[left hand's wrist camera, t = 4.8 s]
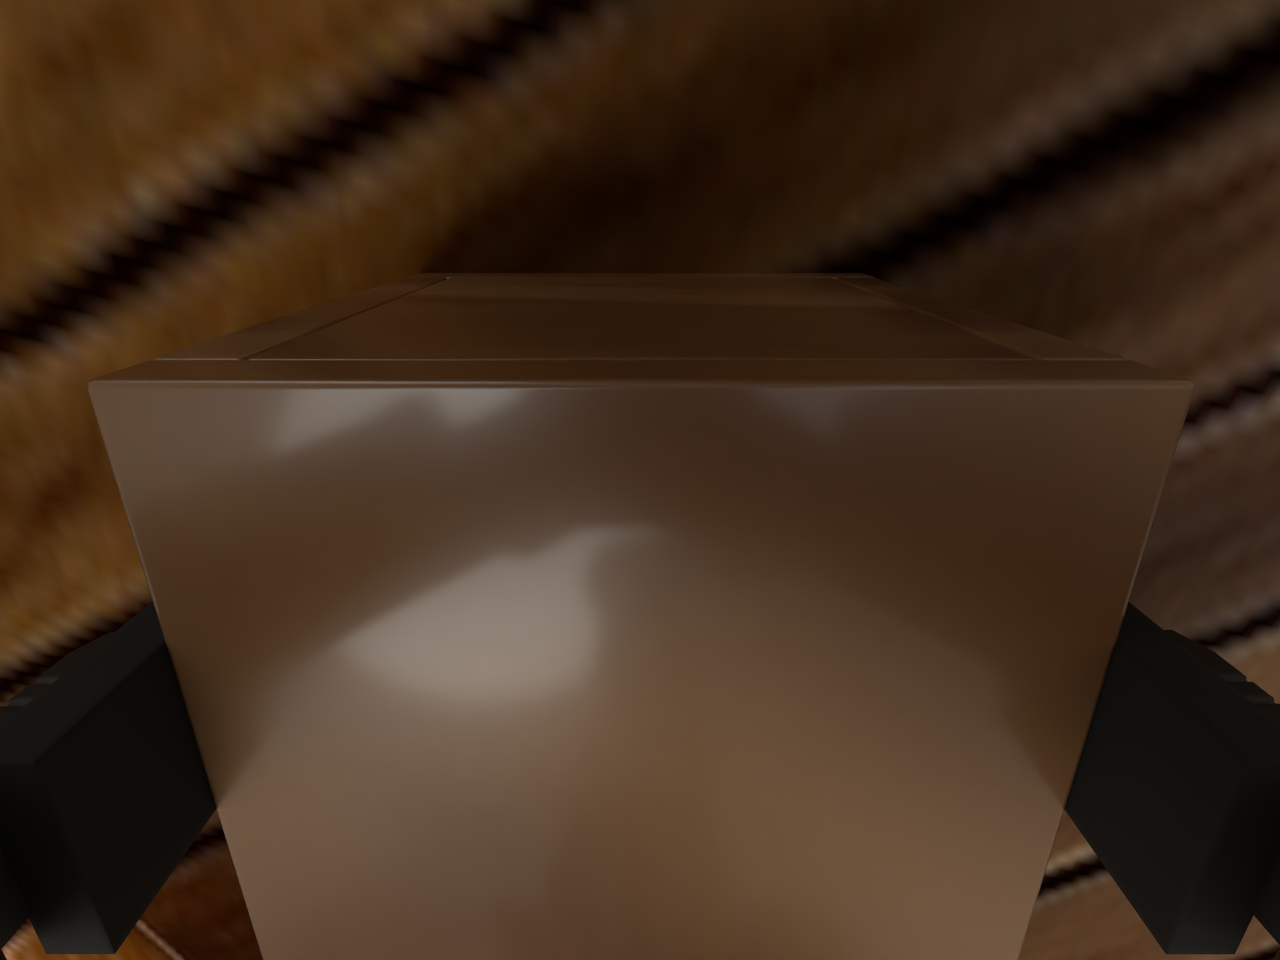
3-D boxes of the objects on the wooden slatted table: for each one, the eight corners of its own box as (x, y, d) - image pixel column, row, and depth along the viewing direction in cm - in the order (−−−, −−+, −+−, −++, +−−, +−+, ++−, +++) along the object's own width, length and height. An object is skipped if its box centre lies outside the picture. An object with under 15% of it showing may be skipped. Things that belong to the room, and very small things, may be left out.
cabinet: (793, 871, 26) (901, 1343, 15) (487, 870, 26) (378, 1342, 15) (864, 272, 18) (1201, 380, 7) (417, 272, 18) (79, 379, 7)
